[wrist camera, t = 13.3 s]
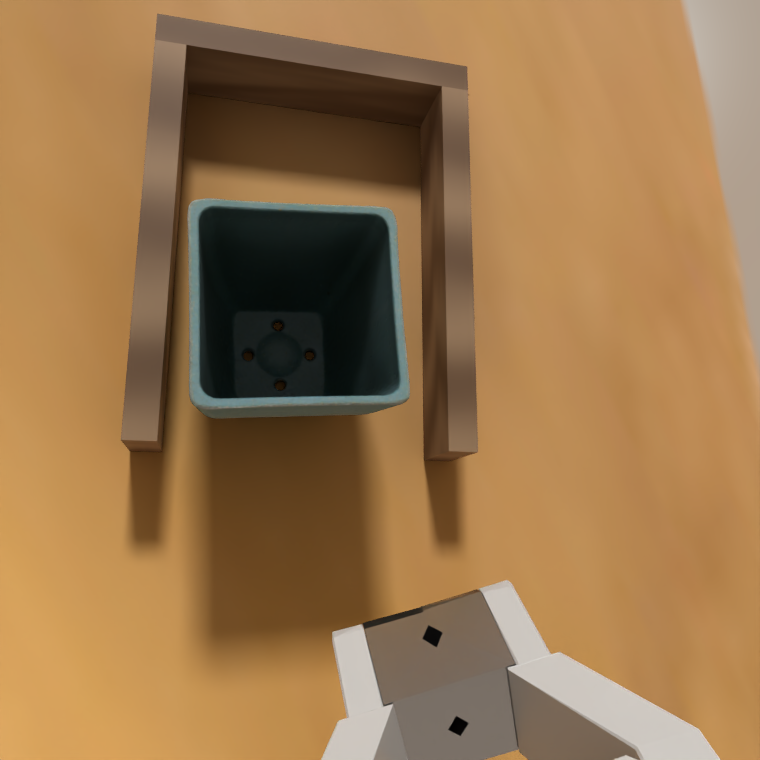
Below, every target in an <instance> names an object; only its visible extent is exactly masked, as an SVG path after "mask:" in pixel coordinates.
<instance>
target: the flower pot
mask: <svg viewBox="0 0 760 760" xmlns="http://www.w3.org/2000/svg"><path fill="white" fill-rule="evenodd" d="M188 252H189V331H190V332H189V354H190V356H189V395H190V400H191V402H192V404H193V405H194V406H196V407H197V408H198V409H199V410H200V411H201V412H202V413H203V414H204V415H206V416H208V417H210V418H246V417H288V416H326V415H362V414H369V413H373V412H377V411H380V410H383V409H387V408H390V407H393V406H396V405H400V404H403V403H404V402H406V401H407V400H408V398H409V395H410V387H409V374H408V363H407V352H406V344H405V334H404V322H403V311H402V296H401V284H400V272H399V257H398V238H397V223H396V218H395V216H394V214H393V212H392V210H390V209H388V208H386V207H376V206H347V205H320V204H319V205H314V204H294V203H270V202H253V201H236V200H225V199H210V198H208V199H199V200H194V201H192V202H191V204H190V205H189V207H188ZM276 322H281V323H282V324H283V328H282V330H280V331H277V330H275V329H274V327H273V325H274V323H276ZM246 351H250V352H252V353H253V359H252V360H250V361H247V360H245V359H244V353H245V352H246ZM307 351H312V352H313V353H314V358H313V359H312V360H307V359H306V358H305V353H306V352H307ZM277 381H283V382H284V383H285V389H284V390H282V391H279V390H277V389H276V387H275V384H276V382H277Z"/></svg>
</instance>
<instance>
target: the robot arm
mask: <svg viewBox="0 0 760 760" xmlns="http://www.w3.org/2000/svg"><path fill="white" fill-rule="evenodd" d="M363 626H364V628H363ZM364 630H365V632H364ZM365 634H366V635H365ZM366 638H367V639H366ZM332 642H333V647H334V652H335V658H336V663H337V668H338V673H339V679H340V684H341V689H342V694H343V699H344V705H345V710H346V715H347V718H345V719H342V720H339V721H338V722H337V724H336V727H335V729H334V731H333V733H332V736H331V738H330V740H329V743H328V745H327V747H326V749H325V752H324V754H323V756H322V759H321V760H484V759H487V758H491V757H494V756H498V755H501V754H505V753H508V752H511V751H515V750H518V749H519V752H520V753H521V754H522V755H523V756H525V757H526V758H527V759H528V760H720V758H719V757H718V756H717V754H716V753H715V751H714V750H713V748H712V747H711V746H710V744H709V743H708V741H707V740H706V739H705V737H704V736H703V734H702V733H701V731H700V730H699V729H698V728H696V727H694V726H692V725H690V724H689V723H687V722H685V721H683V720H681V719H680V718H678V717H676V716H674V715H672V714H671V713H669V712H667V711H665V710H663V709H662V708H660V707H658V706H656V705H654V704H653V703H651V702H649V701H647V700H645V699H644V698H642V697H640V696H638V695H636V694H635V693H633V692H631V691H629V690H627V689H626V688H624V687H622V686H620V685H618V684H617V683H615V682H613V681H611V680H609V679H608V678H606V677H604V676H602V675H600V674H599V673H597V672H595V671H593V670H591V669H590V668H588V667H586V666H584V665H582V664H581V663H579V662H577V661H575V660H573V659H572V658H570V657H568V656H566V655H564V654H563V653H561V652H558V653H554V654H550V652H549V650H548V648H547V646H546V645H545V643H544V641H543V639H542V637H541V636H540V634H539V632H538V630H537V628H536V627H535V625H534V623H533V621H532V619H531V617H530V616H529V614H528V612H527V610H526V608H525V607H524V605H523V603H522V601H521V599H520V598H519V596H518V594H517V592H516V590H515V589H514V587H513V585H512V583H510V582H509V581H508V580H506V581H502V582H499V583H496V584H493V585H489V586H486V587H483V588H480V589H479V590H477V589H476V590H473V591H470V592H467V593H463V594H460V595H457V596H454V597H451V598H447V599H444V600H441V601H438V602H434V603H431V604H428V605H425V606H421V607H420V608H416V609H413V610H409V611H405V612H402V613H398V614H394V615H391V616H387V617H383V618H379V619H376V620H372V621H368V622H365V623H363V625H362V624H360V625H356V626H353V627H349V628H345V629H341V630H338V631H334V632H332ZM367 642H368V643H367Z"/></svg>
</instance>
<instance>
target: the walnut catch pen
mask: <svg viewBox="0 0 760 760" xmlns="http://www.w3.org/2000/svg"><path fill="white" fill-rule="evenodd" d="M188 93H193V94H200V95H207V96H213V97H220V98H227V99H234V100H241V101H247V102H254V103H261V104H268V105H275V106H281V107H288V108H295V109H302V110H309V111H315V112H322V113H329V114H336V115H343V116H349V117H356V118H363V119H370V120H377V121H383V122H390V123H397V124H404V125H411V126H417V127H420V140H421V231H422V322H423V414H424V460H439V461H452V460H455V459H458V458H461V457H464V456H467V455H471V454H474V453H477V452H478V436H477V401H476V365H475V329H474V294H473V258H472V222H471V187H470V151H469V115H468V80H467V67H466V66H460V65H455V64H449V63H443V62H437V61H431V60H425V59H419V58H414V57H408V56H402V55H396V54H390V53H384V52H378V51H373V50H367V49H361V48H355V47H349V46H343V45H337V44H332V43H326V42H320V41H314V40H308V39H302V38H297V37H291V36H285V35H279V34H273V33H267V32H261V31H256V30H250V29H244V28H238V27H232V26H226V25H220V24H215V23H209V22H203V21H197V20H191V19H185V18H180V17H174V16H168V15H162V14H157V24H156V35H155V47H154V59H153V70H152V82H151V94H150V106H149V117H148V129H147V141H146V152H145V164H144V176H143V187H142V199H141V211H140V223H139V234H138V246H137V258H136V269H135V281H134V293H133V305H132V316H131V328H130V340H129V351H128V363H127V375H126V387H125V398H124V410H123V422H122V433H121V441H122V442H123V443H124V444H125V446H126V447H127V448H128V449H129V451H149V452H162V444H163V430H164V416H165V402H166V388H167V374H168V360H169V347H170V333H171V319H172V305H173V291H174V277H175V263H176V249H177V236H178V222H179V208H180V194H181V180H182V166H183V152H184V139H185V125H186V111H187V97H188Z"/></svg>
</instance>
